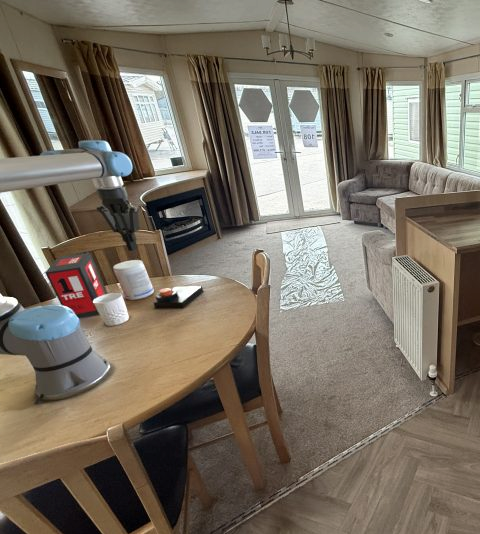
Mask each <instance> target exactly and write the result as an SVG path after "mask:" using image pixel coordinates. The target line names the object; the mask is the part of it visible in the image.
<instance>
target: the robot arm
mask: <svg viewBox="0 0 480 534" xmlns="http://www.w3.org/2000/svg"><path fill="white" fill-rule="evenodd" d="M132 163H133V162H132V160H131V158H130V157H129V156H128V155H127V154H125V153H123V152H121V151H113V150H112V147H111V146H110V144H109V142H108V141H106V140H102V139H101V140H97V139H94V140H91V139H89V140H79V141H78V148H68V149H52V150H46V151H42V152H41V153H40V154H39V155H32V156H19V157H5V158H0V194H2V193H8V192H14V191H21V190H22V191H23V190H28V189H35V188H42V187H46V186H47V187H49V186H54V185H55V186H56V185H61V184H66V183H68V184H69V183H73V182H80V181H87V180H91V181H92V183H93V186H94V188H96V193H97V195H98V198H99V200H101V205H100V206H97V207H96V210H97V211H98V212H99V213H100V214H101V215H102V216H103V219H105V221H106V223H107V225H108V226H109V227H110V228H111V230H112V232H113V233H118V234H120V236H121V239H122V241H123V242H124V243H125V245H126V248H127V250H128V251H129V252H134V251H136V250H137V249H139V247H138V243H137V236H136V233H135V232H138V231H140V224H139V210H140V207H139V205H133V204H132V203H131V202H130V200H128V193H127V189H126V186H125V187H124V182H123V179H122V177H127V176H129V175H130V174H131V173H132V172H133V164H132ZM0 355H4V356H5V355H6V356H7V355H8V356H22V357H23V356H24V357H26V358H27V360H28V362H29V363H30V365H31V367H32V368H33V370H34V373H35V374H34V375H35V387H34V391H35V393H36V395H37V396H38V398H37V399H36V400H35V402H34V403H33V405H35V406H38V405H39V404H40V403H41V401H42V400H43V401H49V402H50V401H51V402H52V401H59V400H65V399H67V398H68V399H69V398H72V397H75V396H77V395H80V394H82V393H86V392H87V391H89V390H91V389H93V388H95V387H96V386H98V385H100V384H101V383H102V382H103V381H105V380H106V379H107V378H108V377H109V376H110V374H111V372H112V366H111V364H110V362H109V361H108V360H106V359H105V358H104V357H103V356H101V355H100V354H99V353H98V352H97V351H95V350H94V349H93V347H92V345H91V343H90V341H89V338H88V336H87V334H86V333H85V331H84V328H83V326H82V324H81V321H80V318H78V317H77V316H76V315H75V313H74V312H73V310H71V309H70V308H68V307H66V306H62V305H61V304H46V305H44V306H41V305H39V306H34V307H30V308H26V309H25V308H24V307H23V306H22V304H21V303H20V302H19V301H18V300H17V299H16V298H15V297H10V296H3V295H2V293H0Z"/></svg>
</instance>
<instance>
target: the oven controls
mask: <svg viewBox="0 0 480 534" xmlns="http://www.w3.org/2000/svg"><path fill="white" fill-rule="evenodd" d="M171 290H172V293H173V294H171V295H169V296H164V297H161V296H160V293H159V292H158V293H156V294H155V301H153V302H152V303H153V306H154V309H184V308H186V307H187V306H188V305H190V303H192V302H193V301H194V300H195V299H196V298H198V297H200V295H201V294H202V293H204V288H203V286H202V285H201V286H200V285H198V286H197V285H194V286H193V285H191V286H190V285H189V286H188V285H187V286H186V285H184V286H183V285H182V286H179V285H177V286H174V287H173V288H171Z"/></svg>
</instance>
